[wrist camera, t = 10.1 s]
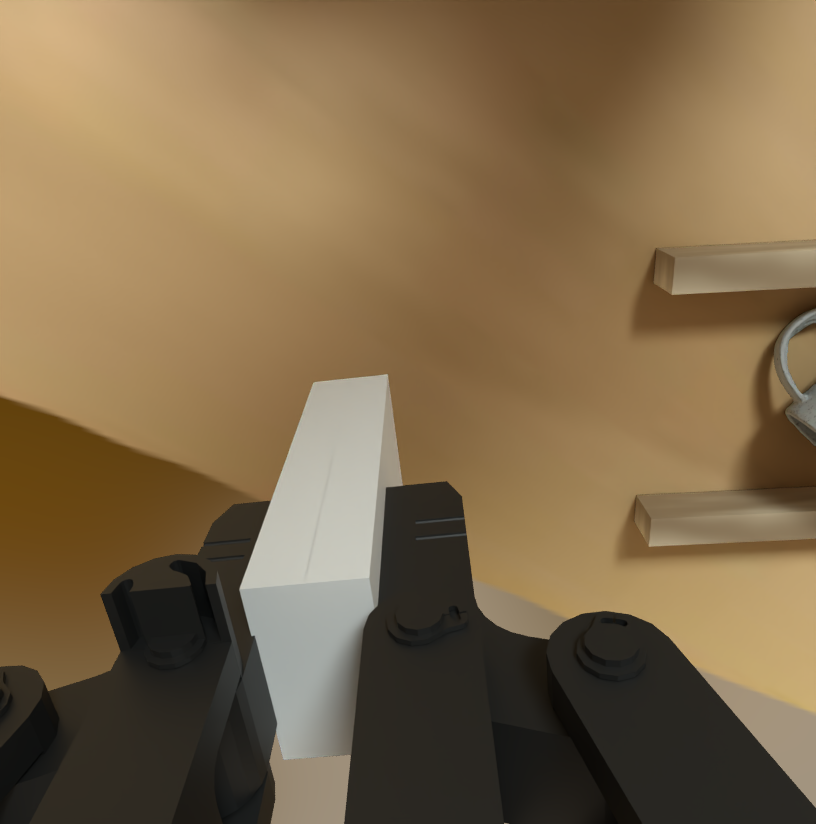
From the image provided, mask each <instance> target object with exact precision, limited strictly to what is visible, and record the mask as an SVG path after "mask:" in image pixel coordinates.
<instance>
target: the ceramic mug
mask: <svg viewBox="0 0 816 824" xmlns="http://www.w3.org/2000/svg"><path fill="white" fill-rule="evenodd" d="M813 323H816V308H815V309H812V310H809V311H806V312H805V313H803V314H801V315H800V316H798V317H797V318H795V319H794V320H793V321H791V322H790V323H789V324H788V325H787V326H786V327H785V329H784V330H783V331H782V332H781V333H780V335H779V337H778V339H777V341H776V344H775V347H774V365H775V369H776V373H777V375H778V377H779V379H780V381H781V383H782V385H783V386H784V388H785V389H786V391H787V393H788V394H789V395H790V396H791V397H792V399H793V401H794V402H793V403H792V404H791V405H790V406H789V407H788V408H787V409H786V411H785V414H786V416H787V418H788V419H789V421H790V422H791V423H792V424H794V426H795V427H796V428H797V429H798V430H799V431H800V432H801V433H802V434H803V435H804V436H805V437H806V438H807V439H808V440H809V441H810V442H811V443H812V444H813V445H814V446H816V384H815V385H813V386H812V387H811V388H810V389H809V390H808V391H806V392H805V393H803V394H802V393H801V392H800V391H799V390H798V389H797V387H796V384H795V383H794V381H793V379H792V377H791V375H790V373H789V370H788V366H787V353H788V343H789V339H791V338H792V337H793V336H794V335H795V334H797V333H798V332H800V331H801V330H802V329H804V328H805V327H807V326H809V325H811V324H813Z"/></svg>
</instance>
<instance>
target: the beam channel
mask: <svg viewBox="0 0 816 824" xmlns="http://www.w3.org/2000/svg"><path fill="white" fill-rule="evenodd" d="M654 284H656V285H657V286H659V287H660V288H662V289H663V290H665V291H667V292H668V293H670V294H671V295H678V294H697V293H716V292H734V291H753V290H772V289H791V288H810V287H816V240H801V241H783V242H764V243H746V244H727V245H709V246H690V247H672V248H656V259H655V272H654ZM634 522H635V524H636V525H637V527H638V529H639V530H640V532H641V534H642V536H643V537H644V539H645V541H646V543H647V544H648V546H649V547H652V546H673V545H694V544H715V543H736V542H758V541H779V540H800V539H816V487H796V488H775V489H755V490H734V491H713V492H693V493H672V494H651V495H636V507H635V520H634Z"/></svg>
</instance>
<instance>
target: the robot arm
mask: <svg viewBox="0 0 816 824" xmlns="http://www.w3.org/2000/svg"><path fill="white" fill-rule="evenodd" d="M101 597H102V600H103V603H104V606H105V609H106V612H107V614H108V617H109V620H110V623H111V626H112V628H113V631H114V634H115V637H116V640H117V642H118V645H119V648H120V651H121V652H120V654H119V656H118V658H117V660H116V661H115V663H114V665H113V667H112V669H111V671H108V672H106V673H103V674H101V675H98V676H96V677H92V678H89V679H86V680H83V681H80V682H76V683H73V684H70V685H67V686H64V687H61V688H58V689H54V690H51V691H48V690H47V688H46V685H45V683H44V681H43V679H42V678H41V676H40V675H39V673H38V671H37V670H34V669H31V668H28V667H25V666H5V667H0V824H270V823H271V818H272V813H273V808H274V803H275V781H274V778H273V774H272V770H271V767H270V763H269V760H270V755H271V750H272V746H273V742H274V737H275V733H277V737H278V741H279V745H280V749H281V753H282V756H283V760H289V759H301V758H314V757H327V756H340V755H351V761H350V772H349V781H348V792H347V802H346V812H345V822H344V824H504V823H509V824H816V808H815V807H814V806H813V804H812V803H811V802H810V801H809V800H808V799H807V797H806V796H805V795H804V794H803V793H802V792H801V790H800V789H799V788H798V787H797V786H796V785H795V784H794V782H793V781H792V780H791V779H790V778H789V776H788V775H787V774H786V773H785V772H784V771H783V770H782V768H781V767H780V766H779V765H778V764H777V763H776V761H775V760H774V759H773V758H772V757H771V756H770V754H769V753H768V752H767V751H766V750H765V749H764V747H762V745H761V744H760V743H759V742H758V740H757V739H756V738H755V737H754V736H753V735H752V733H751V732H750V731H749V730H748V729H747V728H746V727H745V725H744V724H743V723H742V722H741V721H740V720H739V719H738V717H737V716H736V715H735V714H734V713H733V711H732V710H731V709H730V708H729V707H728V706H727V705H726V703H725V702H724V701H723V700H722V699H721V698H720V696H719V695H718V694H717V693H716V692H715V691H714V690H713V688H712V687H711V686H710V685H709V684H708V683H707V681H706V680H705V679H704V678H703V677H702V675H701V674H700V673H699V672H698V671H697V670H696V668H695V667H694V666H693V665H692V664H691V663H690V661H689V660H688V659H687V658H686V657H685V656H684V654H683V653H682V652H681V651H680V650H679V649H678V648H677V646H676V645H675V644H674V643H673V642H672V641H671V639H670V638H669V637H667V636H666V635H665V634H664V633H663V632H661V631H660V630H659V629H658V628H656V627H655V626H654V625H653V624H651V623H649V622H646V621H644V620H642V619H639V618H637V617H634V616H632V615H629V614H622V613H615V612H608V611H602V612H593V613H585V614H581V615H578V616H576V617H574V618H572V619H569V620H567V621H565V622H563V623H562V624H561V625H560V626H559V627H558V628H557V629H556V630H555V631H554V632H553V633H552V634H551V636H550V639H549V640H547V639H541V638H535V637H528V636H524V635H520V634H516V633H512V632H510V631H508V630H505V629H503V628H501V627H499V626H497V625H495V624H494V623H493V622H491V621H490V620H489V619H487V618H486V617H485V616H484V615H483V613H482V612H481V611H480V609H479V608H478V606H477V603H476V600H475V597H474V589H473V581H472V574H471V566H470V558H469V550H468V542H467V535H466V526H465V519H464V510H463V503H462V496H461V495H460V494H459V493H458V492H457V491H456V490H455V489H454V488H453V487H452V486H451V485H450V484H449V483H448V482H447V481H446V482H436V483H426V484H415V485H405V486H403V483H402V476H401V468H400V461H399V454H398V446H397V439H396V431H395V424H394V416H393V409H392V402H391V394H390V387H389V379H388V374H386V375H376V376H367V377H357V378H348V379H338V380H329V381H320V382H314V383H313V385H312V388H311V391H310V394H309V396H308V399H307V402H306V405H305V408H304V410H303V413H302V416H301V419H300V422H299V424H298V427H297V430H296V433H295V436H294V438H293V441H292V444H291V447H290V450H289V452H288V455H287V458H286V461H285V463H284V466H283V469H282V472H281V475H280V477H279V480H278V483H277V486H276V489H275V491H274V494H273V497H272V500H271V501H264V502H254V503H243V504H234V505H233V506H231V507H230V508H229V509H228V510H227V511H226V512H225V513H223V514H222V516H220V517H219V518H218V519H217V520H216V521H215V522H214V523H213V524H212V526H211V528H210V530H209V532H208V535H207V537H206V539H205V541H204V547H201V549H200V552H199V553H198V555H185V554H175V555H170V556H165V557H160V558H155V559H152V560H150V561H147V562H145V563H143V564H140V565H138V566H135V567H133V568H131V569H129V570H128V571H126V572H125V573H123V574H122V575H120V576H119V577H117V578H116V579H114V580H113V581H112V582H111V583H110V584H109V586H108V587H107V588H106V589H105V590H104V591H103V592H102V593H101Z"/></svg>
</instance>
